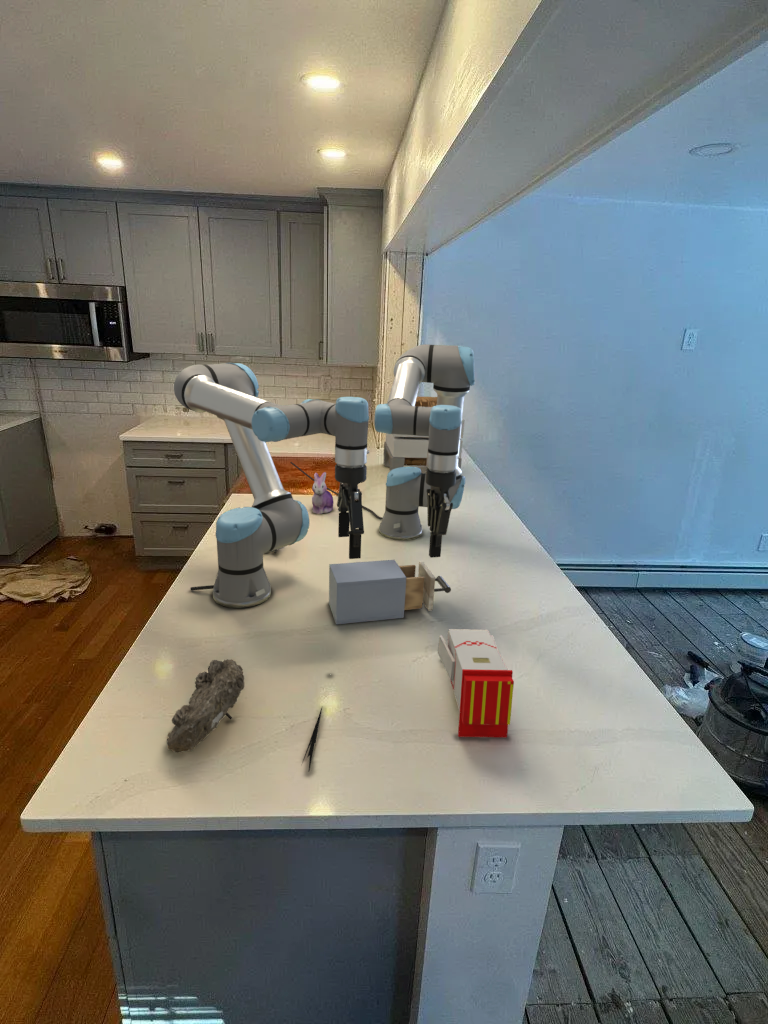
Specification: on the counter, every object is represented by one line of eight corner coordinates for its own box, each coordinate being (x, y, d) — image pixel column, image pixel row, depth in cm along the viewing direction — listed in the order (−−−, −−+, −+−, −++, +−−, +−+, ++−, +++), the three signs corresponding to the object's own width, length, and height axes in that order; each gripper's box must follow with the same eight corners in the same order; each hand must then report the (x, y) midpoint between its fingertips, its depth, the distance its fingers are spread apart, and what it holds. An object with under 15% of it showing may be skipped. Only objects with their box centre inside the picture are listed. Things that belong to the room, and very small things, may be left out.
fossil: (192, 660, 117) (244, 628, 112) (224, 691, 120) (276, 661, 115) (142, 746, 98) (202, 712, 93) (182, 779, 101) (242, 748, 96)
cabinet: (392, 597, 156) (394, 559, 152) (403, 617, 146) (406, 577, 142) (328, 603, 151) (329, 564, 147) (336, 624, 141) (336, 582, 137)
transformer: (382, 463, 289) (386, 382, 275) (445, 464, 293) (451, 384, 279) (390, 482, 257) (394, 392, 243) (460, 483, 261) (468, 394, 247)
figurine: (315, 516, 213) (315, 477, 208) (306, 507, 221) (306, 470, 216) (338, 512, 217) (339, 475, 212) (328, 504, 225) (329, 468, 220)
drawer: (438, 591, 158) (441, 560, 155) (451, 608, 150) (454, 575, 146) (363, 598, 153) (364, 565, 149) (371, 616, 144) (373, 582, 141)
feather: (331, 679, 122) (336, 673, 122) (307, 777, 96) (313, 769, 95) (324, 675, 122) (329, 669, 121) (298, 772, 95) (304, 764, 95)
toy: (488, 613, 130) (523, 677, 101) (484, 667, 133) (517, 744, 104) (435, 612, 130) (455, 676, 101) (432, 666, 133) (451, 743, 103)
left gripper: (379, 478, 123) (375, 567, 131) (355, 451, 146) (353, 527, 153) (345, 479, 121) (343, 569, 129) (326, 451, 144) (325, 529, 151)
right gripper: (465, 476, 135) (457, 565, 143) (446, 461, 147) (439, 545, 155) (436, 477, 133) (429, 567, 141) (418, 462, 145) (413, 547, 153)
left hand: (348, 546), depth 141 cm, fingers open, 13 cm apart
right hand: (434, 556), depth 148 cm, fingers closed
